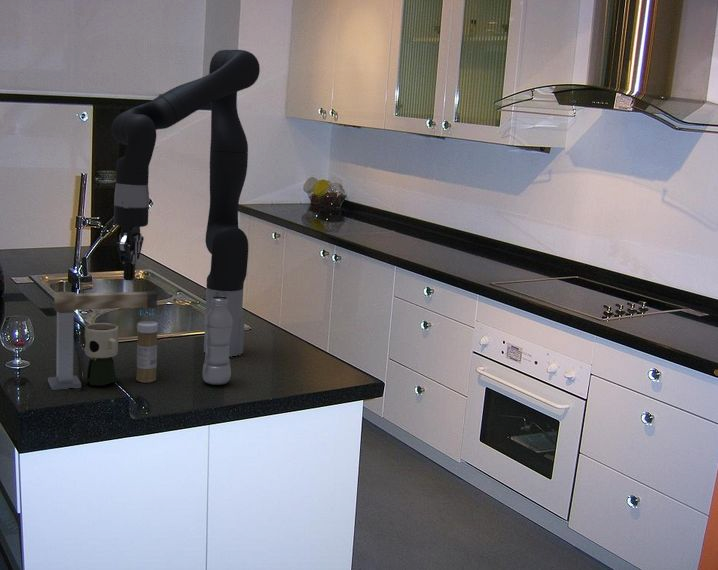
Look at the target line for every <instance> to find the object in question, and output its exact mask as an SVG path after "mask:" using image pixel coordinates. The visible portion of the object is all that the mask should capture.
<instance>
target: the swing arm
mask: <svg viewBox="0 0 718 570" xmlns="http://www.w3.org/2000/svg"><path fill="white" fill-rule="evenodd" d="M53 298H54V307H53V308H54V309H53V311H55V312H57V311H58V312H72V311H73V312H75V311H77V310H78V311H79V310H80V311H81V310H84V311H85V310H110V309H133V308H135V309H138V308H147V309H156V308H157V307H158V293H157V292H156V291H154V290H144V291H129V292H128V291H126V292H125V291H124V292H123V291H121V292H119V291H118V292H86V293H83V292H82V293H81V292H80V293H77V292H74V291H73V292H72V291H57V292H54V297H53Z"/></svg>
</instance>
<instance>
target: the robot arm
mask: <svg viewBox="0 0 718 570" xmlns="http://www.w3.org/2000/svg"><path fill="white" fill-rule="evenodd" d="M208 69H209V71H208V74H207V75H205V76H203V77H199V78H197V79H195V80H192V81H189V82H185V83H183V84H179V85H177V86H175V87H173V88H171V89H169V90H168V91H166V92H163V93H161V94H160V95H159V96H156V97H155V98H154V99H152V100H151V101H149V102H146V103H142V104H140V105H137V106H135V107H131V108H129V109H127V110H125V111H123V112H121V113H119V114H118V115H117V116H116V117H115V118H114V120H113V122H112V124H111V128H110V129H111V135H112V137H113V138H114V140H115V141H116V142H117V143H120V144H122V145H124V146H125V145H126V148H125V154H124V156H121V157H119V158H118V160H117V161H116V167H115V168H116V169H115V172H116V173H115V175H116V176H115V189H114V196H113V199H114V200H113V202H114V203H113V224H115V226H119V227H121V230H120V233H119V237H118V238H119V241H117V242H116V243H115V247H116V250H117V251H116V252H117V254H118V259H119V262H120V263H122V265H123V280H125V281H133V280H135V278H136V264H137V263H138V260H139V259H140V256H141V252H142V247H143V244H144V240H145V237H144V236H143V235H142V233H141V228H142V227H147V226H148V225H149V209H150V208H149V206H150V192H149V174H150V173H149V172H150V171H149V170H150V168H149V166H150V164H151V160H152V158H153V154H154V150H155V147H156V143H157V142H156V141H157V131H158V130H165V129H169V128H170V127H171V128H172V126H175V125H176V124H177V123H179V122H181V121H183V120H184V119H185V118H187V117H189V116H190V115H193V114H194V113H196V112H197V111H199V110H201V109H202V108H205V107H206V106H208V105H211V106H210V108H211V110H210V112H211V113H210V114H211V116H210V122H211V123H210V127H211V128H210V144H209V145H210V147H209V149H210V150H209V209H208V217H207V224H206V232H205V239H204V241H205V246H206V248H207V251H208V252H209V254H211V258H210V259H211V260H210V270H209V274H208V275H207V278H206V286H205V287H206V290H205V310H204V312H205V313H204V314H205V315H204V318H205V317H206V315H207V314H208V312H209V311H210V310H211V308H212V306H211V303H212V297H213V296H224V297H227V298H228V306H227V310H228V311H229V312H230V314H231V316H232V319H233V325H232V331H231V336H230V344H229V345H230V346H229V356H235V355H238V354H242V353H243V354H244V344H245V343H244V341H245V318H244V317H243V307H244V306H243V302H244V301H243V300H244V284H245V280H246V278H247V272H248V259H249V239H248V236H247V234H246V233H245V232H244V231H243V230H242V229H241V228H240V227H239V202H240V199H241V195H242V192H243V188H244V184H245V182H246V177H247V172H248V159H249V146H248V145H249V144H248V140H247V139H248V138H247V136H246V133H245V131H244V128H243V125H242V122H241V121H240V117H239V113H238V104H237V102H238V92H240V91H243V90H246V89H248V88H250V87H251V86H253V85H254V84H255V83H256V82H257V80H258V79H259V76H260V71H261V68H260V62H259V60H258V58H257V56H255V55H254V54H253V53H252V52H250V51H249V50H246V49H245V50H243V49H221V50H218V51H216V52H214V54H213V56H212V58H211V59H210V63H209V68H208ZM203 337H204V338H203V339H204V342H203V353H204V352H205V353H206V332H205V331H204V336H203Z"/></svg>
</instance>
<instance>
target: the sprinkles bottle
mask: <svg viewBox="0 0 718 570" xmlns="http://www.w3.org/2000/svg"><path fill="white" fill-rule="evenodd" d="M136 331H137V344H136V377H135V379H136V381H138V382H139V383H145V384H146V383H149V384H150V383H153V382H156V380H157V362H158V331H159V323H158V322H157V321H154V320H141V321H138V322H137V323H136Z"/></svg>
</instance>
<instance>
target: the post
mask: <svg viewBox="0 0 718 570" xmlns="http://www.w3.org/2000/svg"><path fill="white" fill-rule="evenodd" d="M74 313H75V311H72V312H58V311H56V359H55V360H56V363H55V365H56V376H50V377H47V382H48V384H49V387H50V389H51V390H52V391H59V390H60V389H61V390H70V389H69V388H74V389H82V382H81V380H80V379H79V377H78V375H77V374H76V375H75V374H74V328H75V327H74V326H75V325H74V324H75V323H74V320H75V319H74V318H75V316H74V315H75V314H74Z"/></svg>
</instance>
